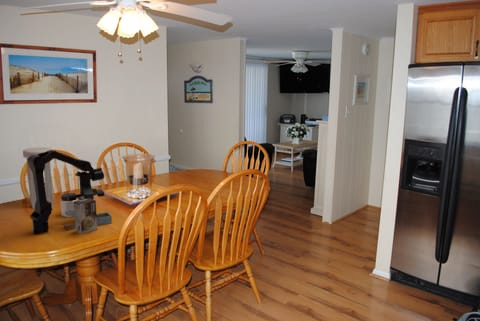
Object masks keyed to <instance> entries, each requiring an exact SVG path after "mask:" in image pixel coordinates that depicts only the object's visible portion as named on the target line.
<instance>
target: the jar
mask: <svg viewBox="0 0 480 321" xmlns="http://www.w3.org/2000/svg"><path fill="white" fill-rule="evenodd" d="M70 193H71V192H68V193H62V194H61V195H60V209H61V216H62V217H65V218H71V217H73V216H66V214H65V210H72V211H74V201H79V199H78V198H77V199H76V200H74V201H69V200H68V199H67V194H70Z"/></svg>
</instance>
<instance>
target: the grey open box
mask: <svg viewBox="0 0 480 321" xmlns="http://www.w3.org/2000/svg"><path fill="white" fill-rule="evenodd" d="M96 214H97V227H98V226H104V225H110V224H113V218H112V215H111V214H110V213H109V211H105V212H101V213H96Z"/></svg>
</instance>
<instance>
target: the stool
mask: <svg viewBox="0 0 480 321" xmlns="http://www.w3.org/2000/svg"><path fill="white" fill-rule="evenodd" d="M49 150H53V149H52V148H51V147H29V148H25V149H23V150H22V157H23V158H25V159H26V164H27V166H26V167H27V176H28V177H27V178H28V188H29V189H28V190H29V200H30V201H29V203H30V205H31V208H32V209H35V203H36V193H35V185H34V178H33V173H32V171H31V169H30V167H29V164H28V158H29V157H30V156H31V155H37V154H39V153H43V152H46V151H49ZM51 170H52V169H51V161H50V162H48V163H46V164H45V169H44V172H43V175H44V184H45V192H46V199H47V201H49V202H51V203H52V207H53V206H54V199H53V198H54V197H53V185H52V184H53V183H52V173H51V172H52V171H51Z"/></svg>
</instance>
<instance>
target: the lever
mask: <svg viewBox="0 0 480 321" xmlns="http://www.w3.org/2000/svg"><path fill="white" fill-rule="evenodd" d="M65 214H66V216H72V217H75V214H74V211H72V210H65Z"/></svg>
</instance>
